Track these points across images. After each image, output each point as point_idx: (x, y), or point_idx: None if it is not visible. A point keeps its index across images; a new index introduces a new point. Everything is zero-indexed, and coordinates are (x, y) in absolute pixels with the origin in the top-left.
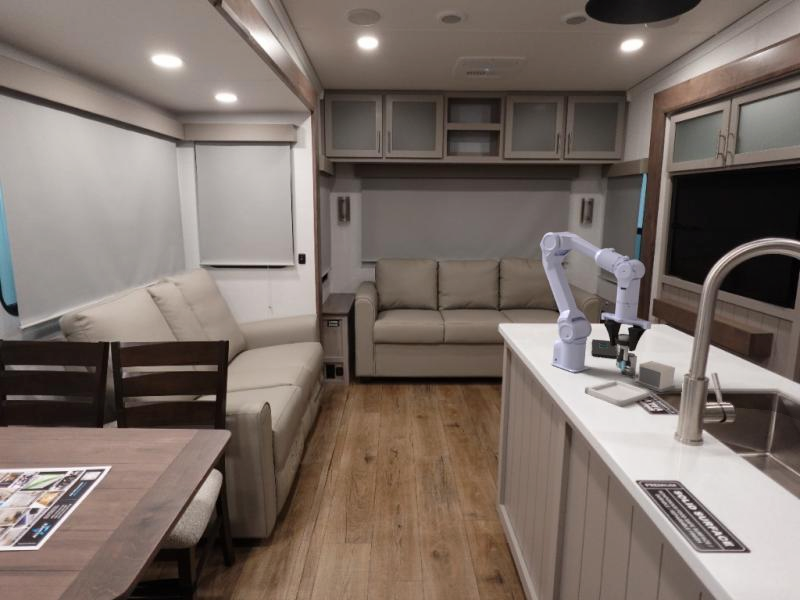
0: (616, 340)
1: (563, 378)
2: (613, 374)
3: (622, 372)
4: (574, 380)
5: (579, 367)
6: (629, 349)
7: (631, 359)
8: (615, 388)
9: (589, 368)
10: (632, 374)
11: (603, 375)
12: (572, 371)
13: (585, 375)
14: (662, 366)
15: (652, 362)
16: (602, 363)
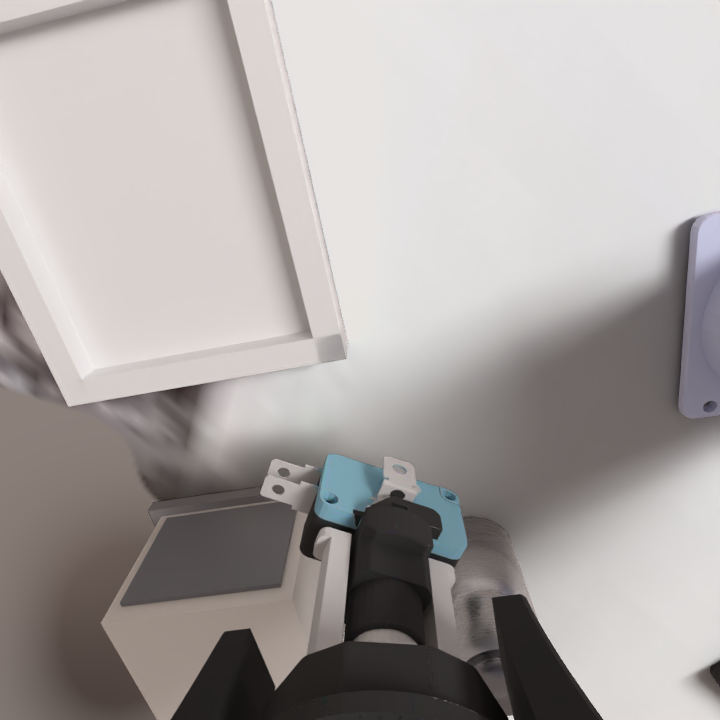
0: (414, 694)
1: (649, 11)
2: (510, 476)
3: (482, 529)
4: (554, 88)
5: (717, 309)
6: (231, 645)
7: None
8: (238, 263)
9: (680, 404)
10: None
11: (528, 405)
12: (712, 214)
13: (597, 279)
14: None
15: None
16: (707, 558)
